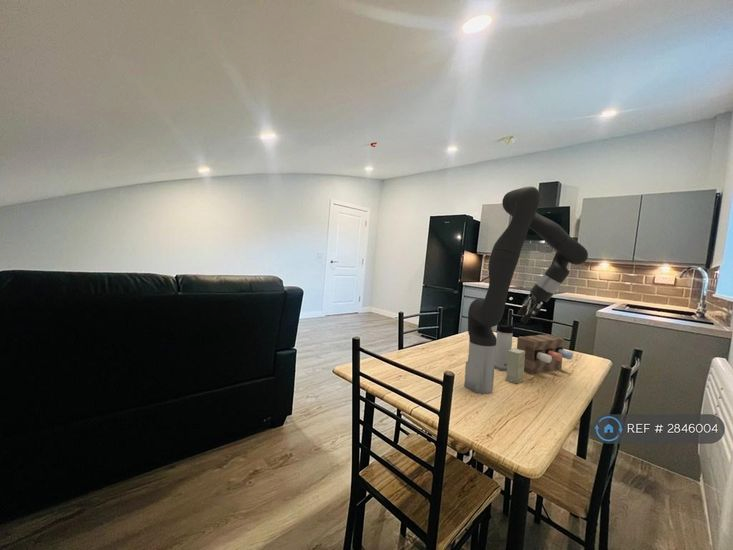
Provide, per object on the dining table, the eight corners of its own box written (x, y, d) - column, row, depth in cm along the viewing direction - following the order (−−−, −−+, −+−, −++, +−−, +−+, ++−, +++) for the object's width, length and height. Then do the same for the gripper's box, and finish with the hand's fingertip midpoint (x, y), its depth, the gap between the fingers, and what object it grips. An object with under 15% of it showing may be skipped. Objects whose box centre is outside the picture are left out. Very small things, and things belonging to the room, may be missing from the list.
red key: (557, 361, 122) (558, 354, 122) (547, 358, 126) (547, 350, 126) (562, 360, 123) (562, 353, 123) (551, 357, 127) (552, 350, 127)
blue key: (567, 359, 125) (568, 352, 125) (557, 356, 129) (557, 349, 129) (572, 359, 126) (572, 352, 126) (561, 355, 130) (562, 348, 130)
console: (531, 374, 124) (534, 342, 123) (515, 367, 131) (517, 337, 130) (561, 369, 132) (563, 338, 131) (544, 362, 139) (546, 334, 138)
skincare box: (516, 384, 113) (519, 353, 112) (505, 380, 116) (507, 350, 115) (523, 380, 117) (526, 350, 116) (512, 376, 120) (514, 347, 119)
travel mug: (509, 372, 124) (512, 326, 123) (492, 368, 128) (496, 324, 127) (512, 368, 129) (515, 324, 128) (496, 364, 133) (499, 322, 132)
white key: (546, 363, 119) (547, 355, 119) (536, 359, 123) (536, 352, 123) (551, 362, 121) (552, 355, 120) (541, 359, 125) (541, 351, 124)
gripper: (533, 278, 125) (510, 308, 131) (540, 287, 112) (515, 320, 118) (549, 287, 124) (526, 317, 130) (559, 297, 111) (532, 330, 117)
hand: (521, 318), depth 124 cm, fingers open, 8 cm apart
